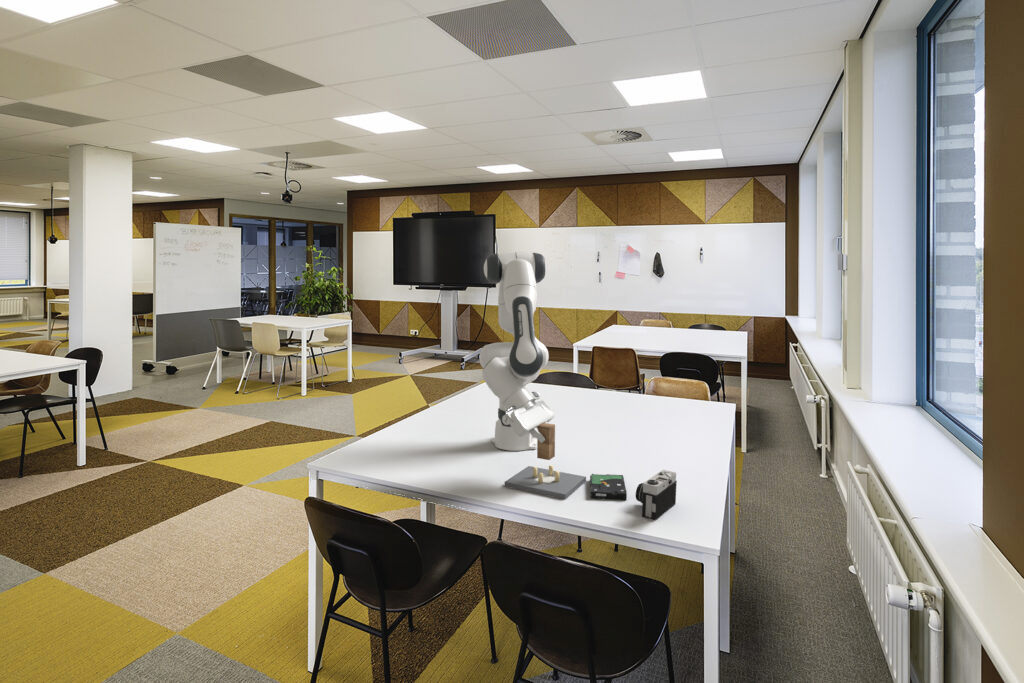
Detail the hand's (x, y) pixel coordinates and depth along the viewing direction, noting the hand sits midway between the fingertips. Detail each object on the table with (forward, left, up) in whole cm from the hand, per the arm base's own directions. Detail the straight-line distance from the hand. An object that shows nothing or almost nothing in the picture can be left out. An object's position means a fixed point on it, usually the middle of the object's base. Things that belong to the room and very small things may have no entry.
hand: (548, 438), depth 169 cm
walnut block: (0, -1, -6) cm, 6 cm away
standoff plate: (0, -1, -14) cm, 14 cm away
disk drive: (-5, +17, -15) cm, 24 cm away
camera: (+2, +33, -15) cm, 36 cm away
